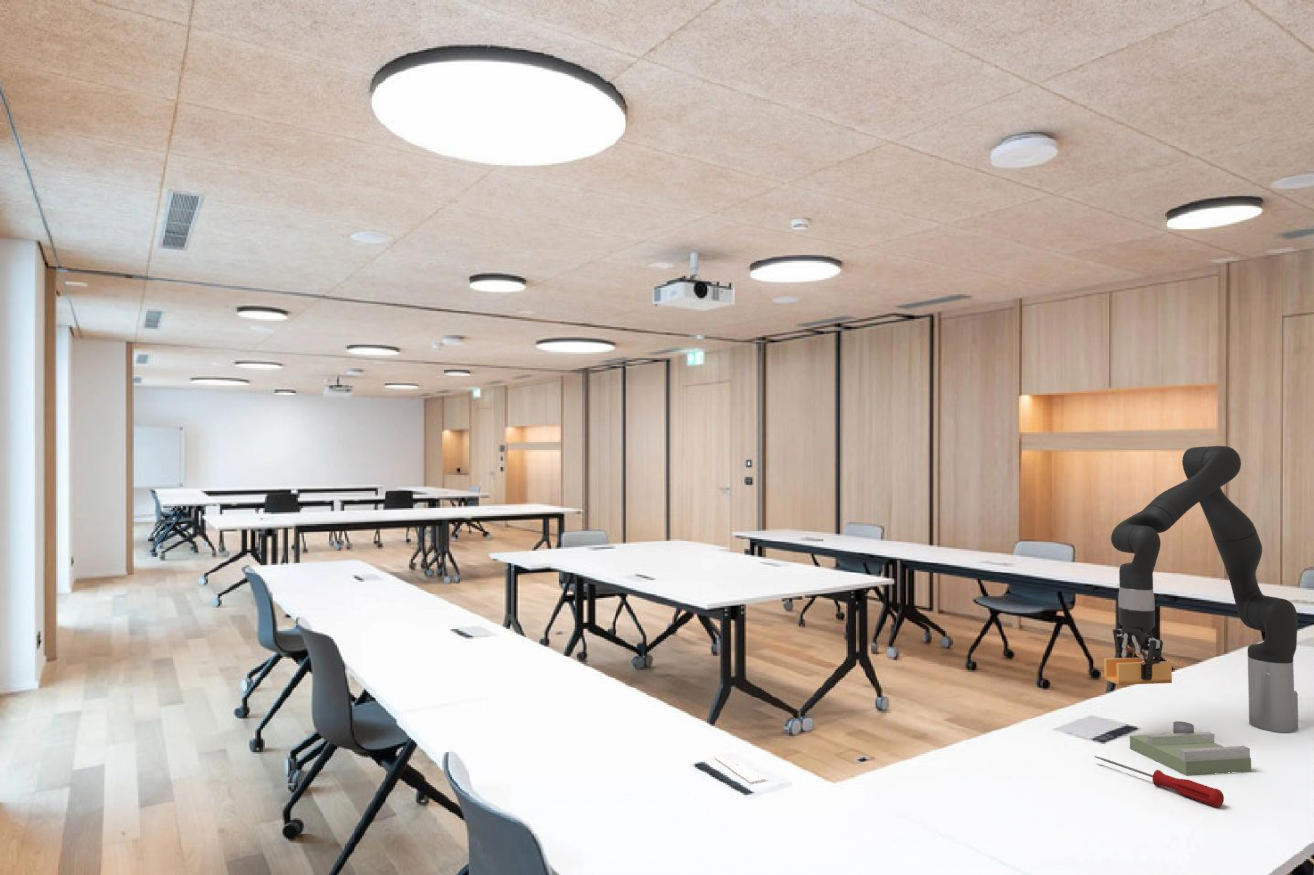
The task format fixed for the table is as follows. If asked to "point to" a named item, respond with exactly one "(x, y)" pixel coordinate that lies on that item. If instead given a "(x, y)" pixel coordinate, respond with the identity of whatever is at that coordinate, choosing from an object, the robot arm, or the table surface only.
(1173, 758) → the marble run board
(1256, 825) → the table surface
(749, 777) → the white flat rectangular slab
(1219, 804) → the screwdriver
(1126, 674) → the discharge chute
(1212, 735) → the chute cradle
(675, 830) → the table surface
